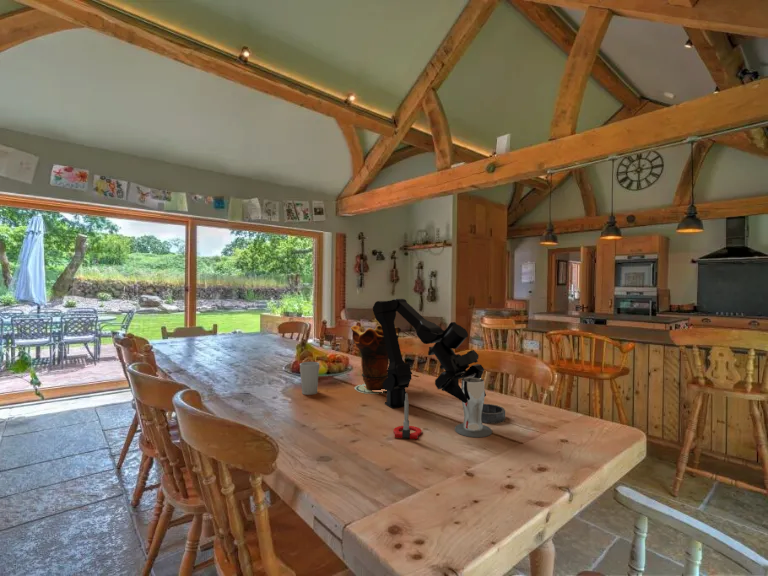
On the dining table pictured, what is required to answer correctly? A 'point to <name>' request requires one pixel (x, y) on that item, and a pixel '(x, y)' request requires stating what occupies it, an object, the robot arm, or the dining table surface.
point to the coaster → (483, 433)
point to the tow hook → (407, 425)
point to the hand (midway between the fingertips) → (476, 399)
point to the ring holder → (493, 413)
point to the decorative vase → (372, 357)
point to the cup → (309, 377)
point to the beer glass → (473, 403)
